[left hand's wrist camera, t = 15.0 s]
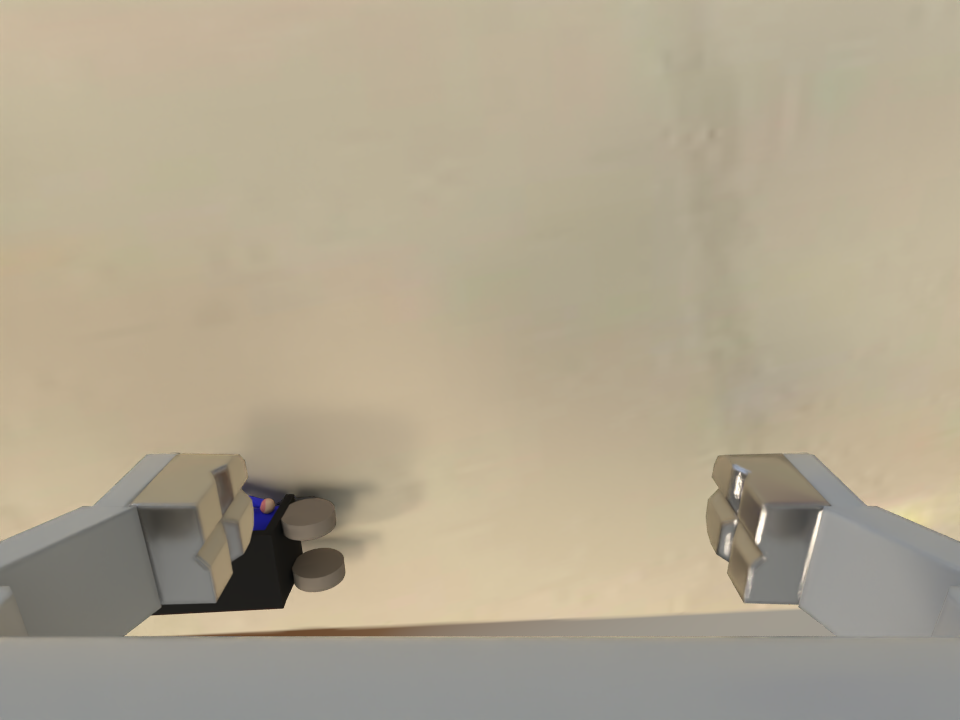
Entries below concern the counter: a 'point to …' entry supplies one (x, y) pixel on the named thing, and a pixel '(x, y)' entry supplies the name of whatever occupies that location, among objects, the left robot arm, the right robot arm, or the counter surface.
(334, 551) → the figurine character
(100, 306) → the counter surface
